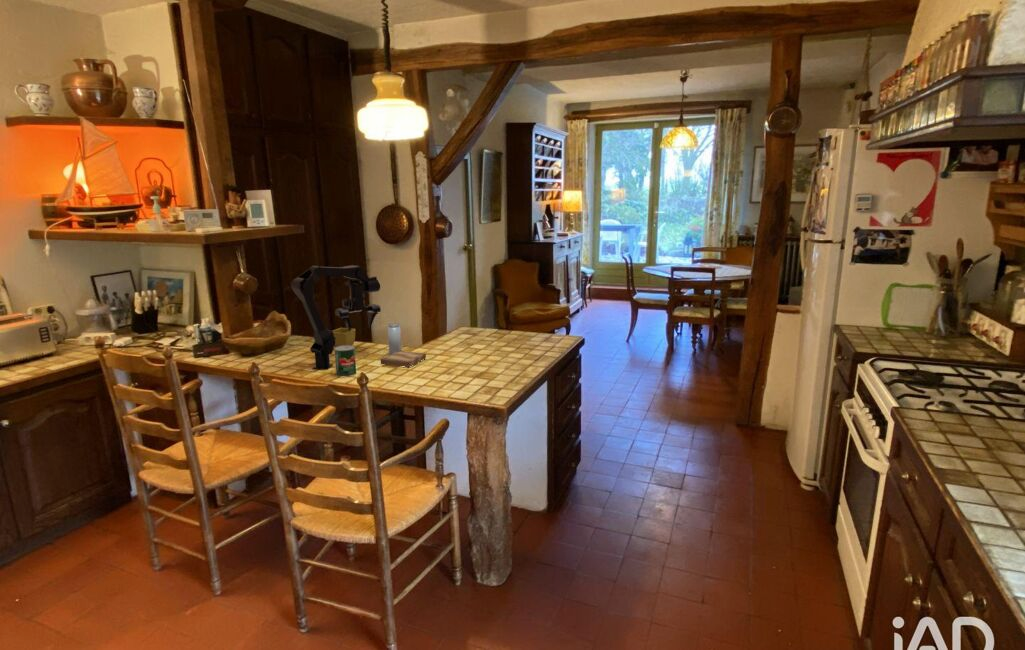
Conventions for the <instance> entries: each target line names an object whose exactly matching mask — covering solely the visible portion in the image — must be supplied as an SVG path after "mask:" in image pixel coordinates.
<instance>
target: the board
mask: <svg viewBox="0 0 1025 650" xmlns="http://www.w3.org/2000/svg"><path fill="white" fill-rule="evenodd" d="M425 358H426V359H427V353H422V352H412V351H405V350H404V351H397V352H395V353H393V354H390V355H387V356H384V357H382V358H380V365H381V364H385V365H384V366H388V365H394V366H393V367H396V366H405V367H410V366H412V365H414V364H416V363H418V362H420V361H421V360H423V359H425ZM420 363H421V362H420ZM418 364H419V363H418ZM416 365H417V364H416ZM414 366H415V365H414ZM405 367H404V368H405ZM412 367H413V366H412ZM410 368H411V367H410Z"/></svg>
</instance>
